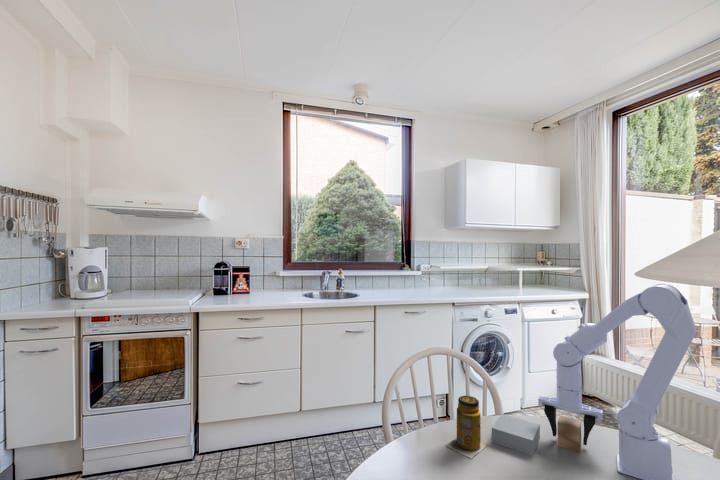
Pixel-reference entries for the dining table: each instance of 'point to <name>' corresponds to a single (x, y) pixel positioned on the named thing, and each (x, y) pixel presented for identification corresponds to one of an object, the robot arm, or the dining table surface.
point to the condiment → (468, 428)
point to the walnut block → (569, 433)
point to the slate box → (516, 433)
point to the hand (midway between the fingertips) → (569, 438)
